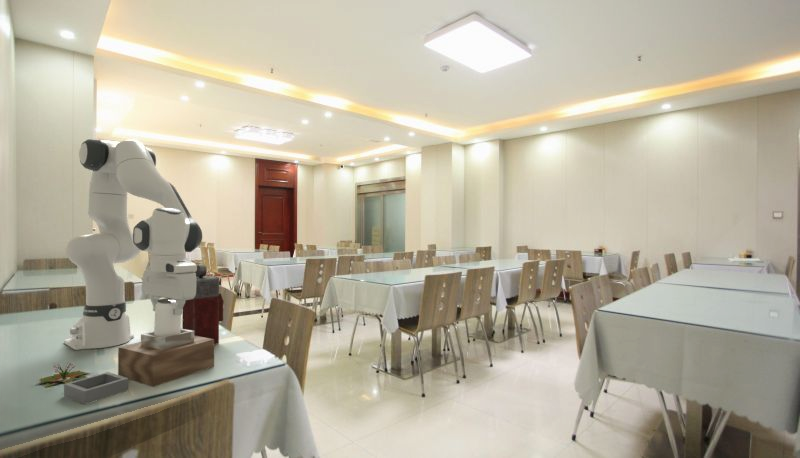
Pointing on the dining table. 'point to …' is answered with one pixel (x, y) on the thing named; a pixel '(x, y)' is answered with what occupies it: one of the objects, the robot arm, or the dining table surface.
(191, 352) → the socket pedestal
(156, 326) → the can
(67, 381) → the leafy plant
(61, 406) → the dining table surface
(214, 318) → the red mill shaker
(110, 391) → the collar
